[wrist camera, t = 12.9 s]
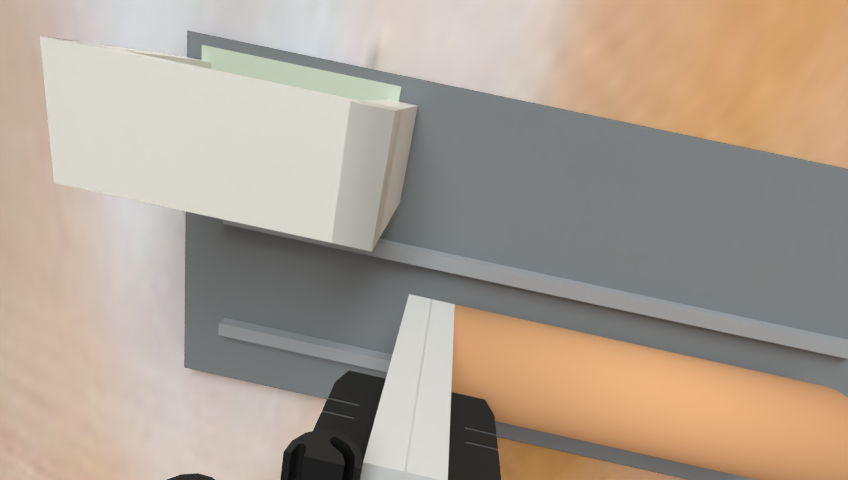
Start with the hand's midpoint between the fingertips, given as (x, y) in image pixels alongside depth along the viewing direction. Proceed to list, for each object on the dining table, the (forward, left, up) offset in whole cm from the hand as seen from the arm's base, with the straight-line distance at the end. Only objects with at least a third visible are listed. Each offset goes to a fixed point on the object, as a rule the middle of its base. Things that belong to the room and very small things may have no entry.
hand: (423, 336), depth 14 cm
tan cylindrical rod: (+7, 0, -1) cm, 7 cm away
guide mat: (+3, +2, -2) cm, 4 cm away
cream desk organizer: (-5, +5, -1) cm, 8 cm away
